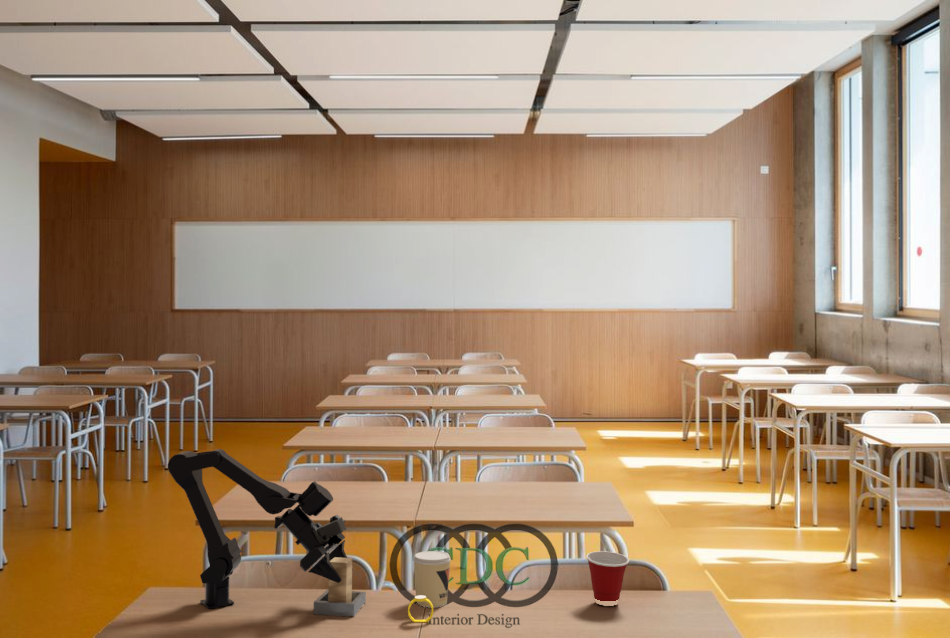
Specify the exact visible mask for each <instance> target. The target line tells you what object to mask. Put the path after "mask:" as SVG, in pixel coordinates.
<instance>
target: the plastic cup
mask: <svg viewBox="0 0 950 638" xmlns="http://www.w3.org/2000/svg"><path fill="white" fill-rule="evenodd" d="M585 556H586V559H587V562H588V566H589V572H590V578H591V579H590V581H591V586H592V592H593V598H595V599H597V600H600V601H616V600H618V599H619V600H620V596H621V592H622V589H623V588H622V587H623V583H624V577H625V572H626V570H627V565H628V564H630V563H629V562H630V559H629V557H627V556H625V555H624V554H622V553H618V552H613V551H605V550H597V551H596V550H595V551H591V552H588V553H587V554H586V555H585Z"/></svg>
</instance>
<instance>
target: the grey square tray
mask: <svg viewBox="0 0 950 638" xmlns="http://www.w3.org/2000/svg"><path fill="white" fill-rule="evenodd" d="M366 593H367V592H366V591H358V590H356V591H354V590H352V602H351V603H348V602H332V601H328V589H326V590H325V591H324V592H323V593H322V594H321V595H319V596H318V597H317V598H316V599H315V600H314V601H313V615H317V616H318V615H319V616H323V615H324V616H334V615H336V616H337V615H338V616H337V617H349V616H354V617H355V616H356V615H357V614H358V613H359V612H358V610H359V609H360V608H361V606H362V605H363V604H364V603H365V601H366V596H367V595H366ZM365 604H366V603H365ZM361 609H362V608H361ZM361 609H360V610H361ZM357 612H358V613H357ZM356 613H357V614H356ZM355 614H356V615H355Z"/></svg>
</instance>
